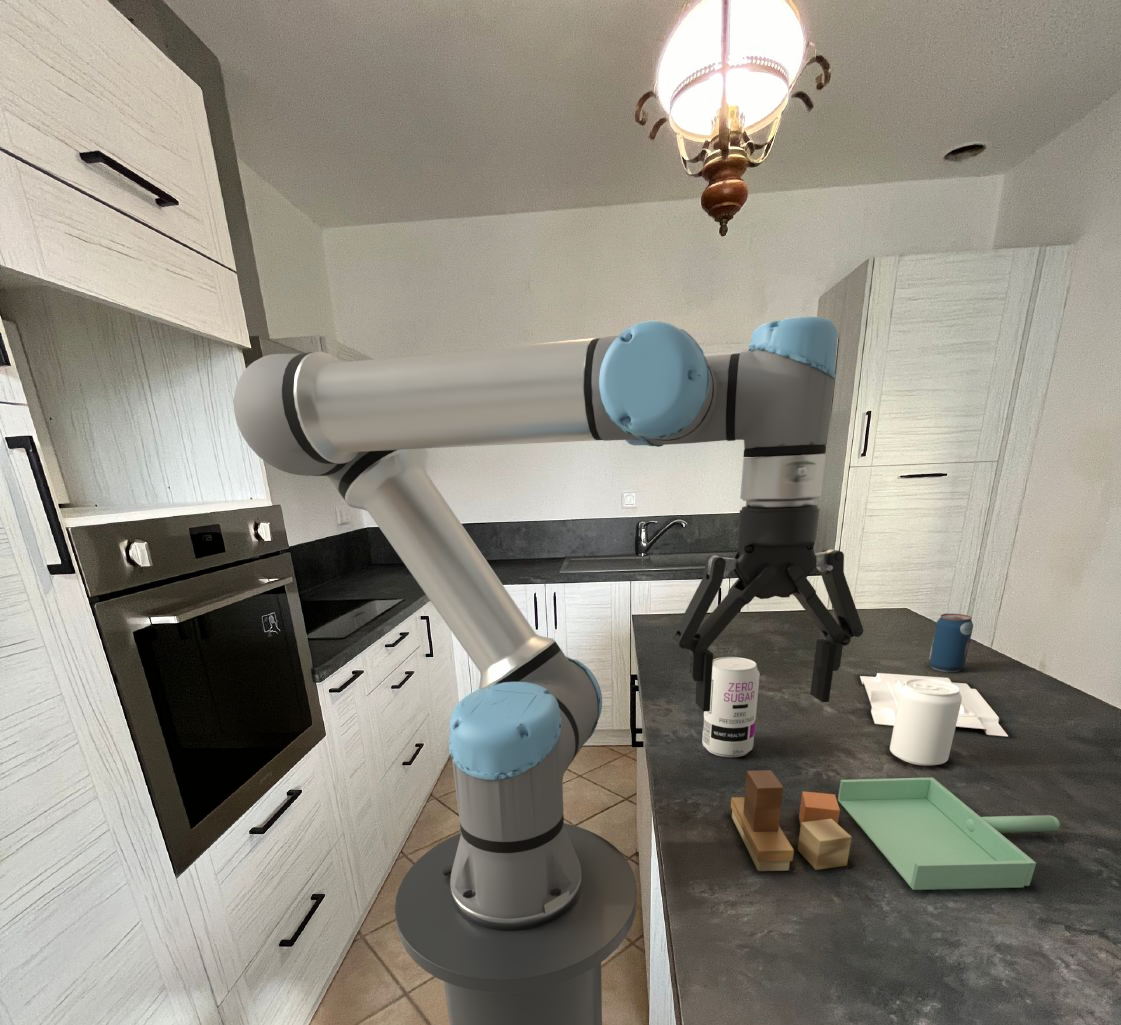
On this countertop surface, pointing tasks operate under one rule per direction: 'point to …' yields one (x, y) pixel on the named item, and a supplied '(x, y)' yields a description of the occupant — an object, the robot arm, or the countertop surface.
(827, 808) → the chunk
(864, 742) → the countertop surface
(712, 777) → the countertop surface
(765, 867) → the brush
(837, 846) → the chunk
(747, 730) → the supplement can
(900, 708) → the beverage can
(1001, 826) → the dustpan
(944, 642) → the soda can
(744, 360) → the robot arm
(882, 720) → the tray
